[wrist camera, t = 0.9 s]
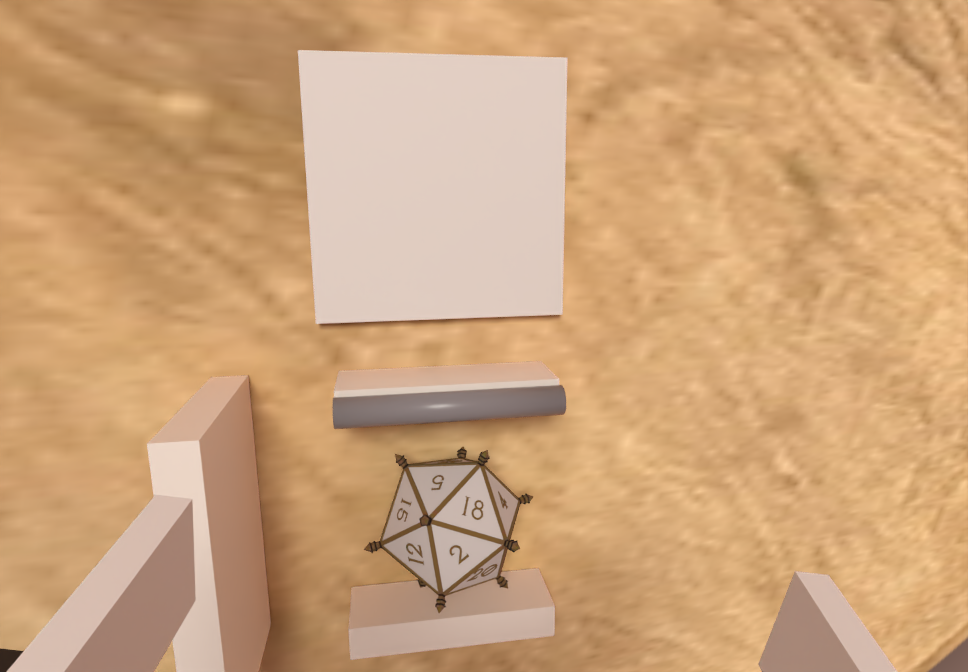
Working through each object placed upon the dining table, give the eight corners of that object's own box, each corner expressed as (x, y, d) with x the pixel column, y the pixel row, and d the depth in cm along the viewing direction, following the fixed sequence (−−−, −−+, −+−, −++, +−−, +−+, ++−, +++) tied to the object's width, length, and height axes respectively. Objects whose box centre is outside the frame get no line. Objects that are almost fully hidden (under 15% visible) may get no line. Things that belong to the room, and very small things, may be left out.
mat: (557, 311, 38) (562, 314, 37) (317, 320, 35) (316, 323, 34) (562, 61, 35) (567, 57, 34) (300, 54, 32) (298, 50, 31)
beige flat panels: (538, 595, 41) (586, 714, 32) (237, 627, 39) (189, 770, 29) (540, 360, 38) (595, 415, 28) (211, 377, 35) (147, 443, 25)
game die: (464, 449, 43) (587, 482, 36) (425, 577, 41) (547, 638, 34) (363, 413, 36) (488, 445, 29) (312, 562, 35) (433, 633, 28)
